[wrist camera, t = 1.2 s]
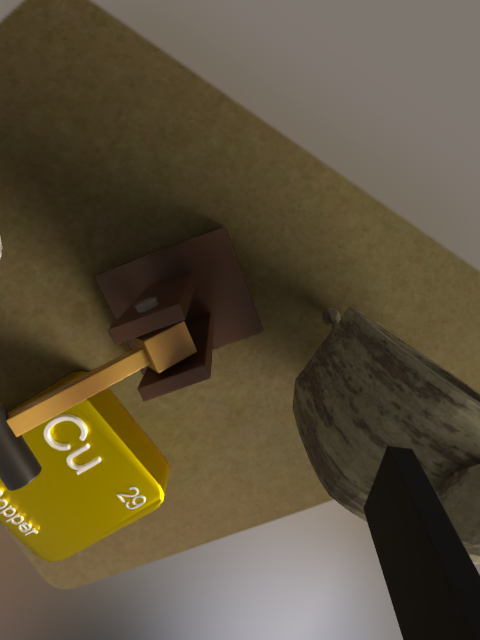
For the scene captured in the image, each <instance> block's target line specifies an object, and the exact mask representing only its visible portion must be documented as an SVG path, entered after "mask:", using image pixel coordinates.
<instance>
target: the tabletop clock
mask: <svg viewBox="0 0 480 640" xmlns="http://www.w3.org/2000/svg"><path fill="white" fill-rule="evenodd" d="M340 316H341V315H340V313H339V312H338V310H336V309H333V308H330V309H327V310H326V311H325V312H324V313H323V321H324V322H325V323H326V324H327V325H330V326H332V327H333V330H332V331H331V333H330V334H329V335H328V337H327V338H326V339H325V341H324V342H323V343H322V345H321V346H320V347H319V349H318V350H317V351H316V353H315V354H314V355H313V357H312V358H311V359H310V361H309V362H308V363H307V365H306V366H305V368H304V369H303V370H302V372H301V373H300V374H299V376H298V377H297V379H296V381H295V390H294V399H293V412H294V416H295V419H296V423H297V427H298V430H299V434H300V436H301V439H302V442H303V444H304V447H305V449H306V452H307V454H308V457H309V459H310V462H311V464H312V466H313V468H314V470H315V472H316V474H317V476H318V478H319V480H320V482H321V483H322V485H323V486H324V488H325V489H326V491H327V492H328V494H329V495H330V496H331V497H332V498H333V499H335V500H336V501H337V502H338V503H340V504H341V505H342V506H343V507H345V508H346V509H347V510H349V511H350V512H352V513H353V514H355V515H357V516H358V517H360V518H362V519H363V520H365V521H367V519H366V516H365V513H364V509H363V508H364V506H365V503H366V500H367V498H368V495H369V493H370V490H371V487H372V485H373V482H374V480H375V477H376V474H377V472H378V469H379V466H380V464H381V461H382V459H383V456H384V453H385V451H386V448H387V446H393V447H401V448H410V449H413V451H414V453H415V455H416V457H417V459H418V460H419V462H420V464H421V466H422V468H423V470H424V472H425V474H426V475H427V477H428V479H429V481H430V483H431V485H432V487H433V489H434V491H435V492H436V494H437V496H438V498H439V500H440V502H441V504H442V506H443V507H444V509H445V511H446V513H447V515H448V517H449V519H450V521H451V522H452V524H453V526H454V528H455V530H456V532H457V534H458V536H459V537H460V539H461V541H462V543H463V545H464V547H465V549H466V551H467V552H468V554H469V556H470V558H471V560H472V562H473V564H480V394H479V393H478V392H476V391H475V390H474V389H472V388H471V387H469V386H468V385H467V384H465V383H464V382H462V381H461V380H459V379H458V378H457V377H455V376H454V375H452V374H451V373H449V372H448V371H446V370H445V369H443V368H442V367H440V366H439V365H437V364H436V363H434V362H433V361H431V360H430V359H428V358H427V357H425V356H424V355H422V354H421V353H419V352H418V351H416V350H415V349H413V348H412V347H410V346H409V345H407V344H406V343H404V342H403V341H401V340H400V339H398V338H397V337H395V336H394V335H392V334H391V333H389V332H387V331H386V330H384V329H383V328H381V327H380V326H378V325H377V324H375V323H374V322H372V321H371V320H369V319H368V318H366V317H364V316H363V315H361V314H360V313H358V312H357V311H355V310H353V309H352V308H350V307H349V308H348V310H347V311H346V312H345V314H344V315H343V316H342V318H341V319H340Z"/></svg>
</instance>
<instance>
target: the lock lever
mask: <svg viewBox="0 0 480 640" xmlns="http://www.w3.org/2000/svg"><path fill="white" fill-rule="evenodd" d="M134 340H135V342H136V344H137V346H138V347H136V348H135V349H133V350H131V351H129V352H127V353H125V354H123V355H121V356H119V357H117V358H115V359H113V360H111V361H109V362H108V363H106V364H104V365H102V366H100V367H98V368H96V369H94V370H92V371H90V372H88V373H86V374H84V375H82V376H81V377H79V378H77V379H75V380H73V381H71V382H69V383H67V384H65V385H63V386H61V387H59V388H57V389H55V390H53V391H52V392H50V393H48V394H46V395H44V396H42V397H40V398H38V399H36V400H34V401H32V402H30V403H28V404H26V405H25V406H23V407H21V408H19V409H17V410H15V411H13V412H11V413H9V414H8V413H7V411H6V409H5V408H4V406H3V405H2V403H1V402H0V478H1V480H2V481H3V483H4V484H5V486H6V487H7V489H8V490H11V491H14V490H17V489H20V488H22V487H24V486H26V485H27V484H29V483H30V482H31V481H33V480H34V479H35V478H36V477H37V476H38V475H39V474H40V472H41V470H42V466H41V464H40V463H39V461H38V460H37V458H36V457H35V455H34V453H33V452H32V450H31V449H30V447H29V446H28V444H27V442H26V441H25V439H24V438H23V436H22V434H24V433H25V432H27V431H29V430H31V429H33V428H34V427H36V426H38V425H40V424H42V423H44V422H45V421H47V420H49V419H51V418H53V417H55V416H56V415H58V414H60V413H62V412H64V411H65V410H67V409H69V408H71V407H73V406H75V405H76V404H78V403H80V402H82V401H84V400H86V399H87V398H89V397H91V396H93V395H95V394H96V393H98V392H100V391H102V390H104V389H106V388H107V387H109V386H111V385H113V384H115V383H117V382H118V381H120V380H122V379H124V378H126V377H127V376H129V375H131V374H133V373H135V372H137V371H138V370H140V369H142V368H144V367H146V366H148V367H150V368H151V369H153V370H154V371H156V372H157V373H160V372H162V371H164V370H166V369H167V368H169V367H171V366H173V365H174V364H176V363H178V362H180V361H181V360H183V359H185V358H187V357H189V356H190V355H192V354H194V353H196V352H197V350H196V347H195V345H194V343H193V340H192V338H191V336H190V333H189V331H188V329H187V326H186V324H185V322H184V321H179V322H177V323H174V324H171V325H168V326H166V327H163V328H160V329H157V330H155V331H152V332H149V333H146V334H144V335H141V336H138V337H135V338H134Z"/></svg>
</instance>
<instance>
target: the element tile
mask: <svg viewBox="0 0 480 640" xmlns="http://www.w3.org/2000/svg"><path fill="white" fill-rule="evenodd" d="M86 373H88V372H86V371H79V372H74V373H71V374H69V375H67V376H66V377H64V378H62V379H61V380H59V381H58V382H56V383H54V384H53V385H51V386H50V387H48V388H46V389H45V390H43V391H41V392H40V393H38V394H37V395H35V396H33V397H32V398H30V399H29V400H27V401H25V402H24V403H22V404H20V405H19V406H17V407H16V408H14V409H12V410H11V411H9V412H8V414H9V413H11V412H13V411H15V410H17V409H19V408H21V407H23V406H25V405H26V404H28V403H30V402H32V401H34V400H36V399H38V398H40V397H42V396H44V395H46V394H48V393H50V392H52V391H53V390H55V389H57V388H59V387H61V386H63V385H65V384H67V383H69V382H71V381H73V380H75V379H77V378H79V377H81V376H82V375H84V374H86ZM22 436H23V438H24V439H25V441H26V442H27V444H28V446H29V447H30V449H31V450H32V452H33V453H34V455H35V457H36V458H37V460H38V461H39V463H40V464H41V466H42V470H41V472H40V474H39V475H38V476H37V477H36V478H35V479H34V480H33V481H31V482H30V483H29V484H27V485H26V486H24V487H22V488H20V489H17V490H14V491H11V490H8V489H7V487H6V486H5V484H4V483H3V481H2V480H1V478H0V522H1V523H2V524H3V525H4V526H6V527H7V528H8V529H9V530H10V531H11V532H12V533H13V534H14V535H15V536H16V537H17V538H18V539H19V540H20V541H21V542H22V543H23V544H25V545H26V546H27V547H28V548H29V549H30V550H31V551H32V552H33V553H34V554H35V555H37V556H38V557H39V558H42V559H44V560H46V561H48V562H54V561H61V560H64V559H66V558H68V557H70V556H72V555H74V554H75V553H77V552H79V551H81V550H83V549H85V548H86V547H88V546H90V545H92V544H94V543H96V542H97V541H99V540H101V539H103V538H105V537H107V536H108V535H110V534H112V533H114V532H116V531H118V530H119V529H121V528H123V527H125V526H127V525H129V524H130V523H132V522H134V521H136V520H138V519H140V518H141V517H143V516H145V515H147V514H149V513H151V512H152V511H154V510H156V509H157V508H158V507H159V506H160V505H161V503H162V502H163V500H164V495H165V490H166V485H167V480H168V476H169V471H170V469H169V465H168V462H167V460H166V459H165V457H164V456H163V455H162V454H161V452H160V451H159V450H158V449H157V448H156V446H155V445H154V444H153V443H152V441H151V440H150V439H149V438H148V437H147V435H146V434H145V433H144V432H143V430H142V429H141V428H140V427H139V426H138V424H137V423H136V422H135V421H134V419H133V418H132V417H131V416H130V415H129V413H128V412H127V411H126V410H125V408H124V407H123V406H122V405H121V404H120V402H119V401H118V400H117V399H116V397H115V396H114V395H113V394H112V392H111V391H110V390H109V389H108V388H106V389H104V390H102V391H100V392H98V393H96V394H95V395H93V396H91V397H89V398H87V399H86V400H84V401H82V402H80V403H78V404H76V405H75V406H73V407H71V408H69V409H67V410H65V411H64V412H62V413H60V414H58V415H56V416H55V417H53V418H51V419H49V420H47V421H45V422H44V423H42V424H40V425H38V426H36V427H34V428H33V429H31V430H29V431H27V432H25V433H24V434H22Z"/></svg>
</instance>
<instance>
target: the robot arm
mask: <svg viewBox="0 0 480 640" xmlns="http://www.w3.org/2000/svg"><path fill="white" fill-rule="evenodd" d="M363 509H364V513H365V516H366V519H367V522H368V525H369V528H370V532H371V535H372V539H373V542H374V545H375V548H376V552H377V555H378V558H379V562H380V565H381V568H382V571H383V575H384V578H385V581H386V584H387V587H388V591H389V594H390V597H391V601H392V604H393V607H394V610H395V613H396V617H397V620H398V623H399V627H400V630H401V633H402V636H403V640H480V575H479V573H478V571H477V569H476V568H475V566H474V564H473V562H472V560H471V558H470V556H469V554H468V552H467V551H466V549H465V547H464V545H463V543H462V541H461V539H460V537H459V536H458V534H457V532H456V530H455V528H454V526H453V524H452V522H451V521H450V519H449V517H448V515H447V513H446V511H445V509H444V507H443V506H442V504H441V502H440V500H439V498H438V496H437V494H436V492H435V491H434V489H433V487H432V485H431V483H430V481H429V479H428V477H427V475H426V474H425V472H424V470H423V468H422V466H421V464H420V462H419V460H418V459H417V457H416V455H415V453H414V451H413V449H410V448H401V447H393V446H387V448H386V451H385V453H384V456H383V459H382V461H381V464H380V466H379V469H378V472H377V474H376V477H375V480H374V482H373V485H372V487H371V490H370V493H369V495H368V498H367V500H366V503H365V506H364V508H363Z"/></svg>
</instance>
